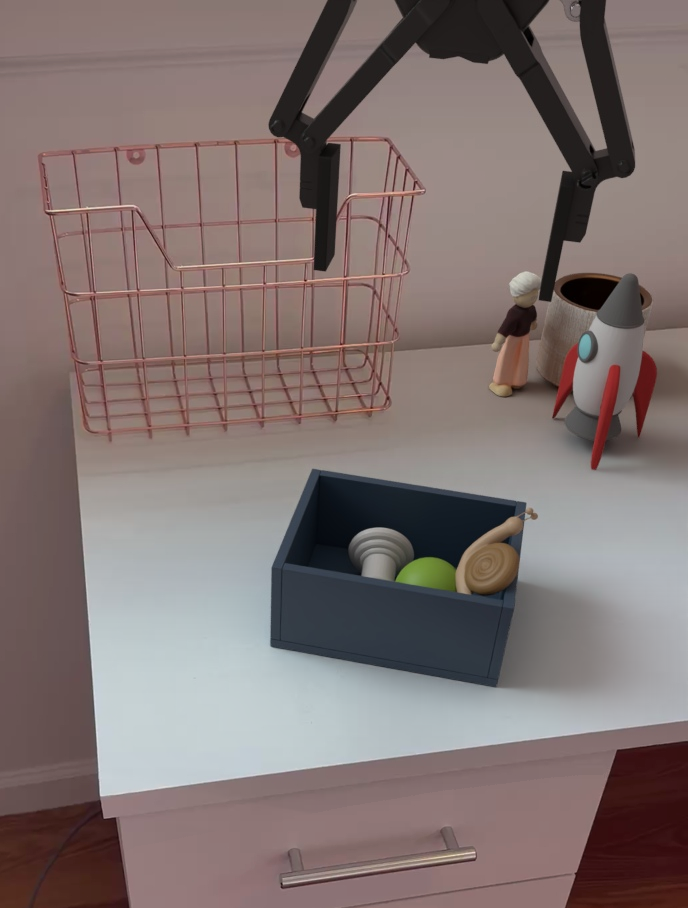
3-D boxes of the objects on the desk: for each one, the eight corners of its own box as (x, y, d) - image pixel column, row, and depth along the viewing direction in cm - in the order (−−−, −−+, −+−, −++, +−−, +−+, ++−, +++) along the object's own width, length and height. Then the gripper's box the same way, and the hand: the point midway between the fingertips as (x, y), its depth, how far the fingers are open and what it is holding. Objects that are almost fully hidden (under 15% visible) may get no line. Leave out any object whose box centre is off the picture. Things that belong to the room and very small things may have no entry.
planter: (543, 396, 111) (561, 312, 105) (527, 350, 119) (543, 269, 113) (642, 400, 112) (666, 316, 105) (620, 354, 120) (641, 273, 113)
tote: (510, 578, 87) (526, 502, 82) (496, 687, 77) (514, 608, 72) (308, 544, 90) (312, 468, 84) (269, 646, 80) (271, 567, 74)
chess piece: (409, 576, 86) (400, 658, 80) (345, 567, 86) (332, 648, 80) (419, 530, 82) (410, 612, 76) (352, 519, 82) (339, 601, 76)
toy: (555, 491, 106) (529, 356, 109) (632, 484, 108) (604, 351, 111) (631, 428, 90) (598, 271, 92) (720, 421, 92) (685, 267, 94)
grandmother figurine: (511, 404, 110) (533, 289, 101) (478, 394, 111) (497, 280, 102) (537, 376, 115) (560, 264, 106) (505, 367, 116) (525, 255, 108)
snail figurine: (419, 586, 83) (552, 529, 77) (419, 650, 80) (559, 597, 73) (380, 549, 80) (516, 487, 74) (378, 615, 76) (521, 555, 70)
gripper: (207, -181, 47) (218, 273, 61) (769, -136, 44) (643, 332, 58) (250, -191, 52) (251, 229, 67) (752, -151, 49) (640, 280, 64)
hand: (433, 277), depth 62 cm, fingers open, 13 cm apart
